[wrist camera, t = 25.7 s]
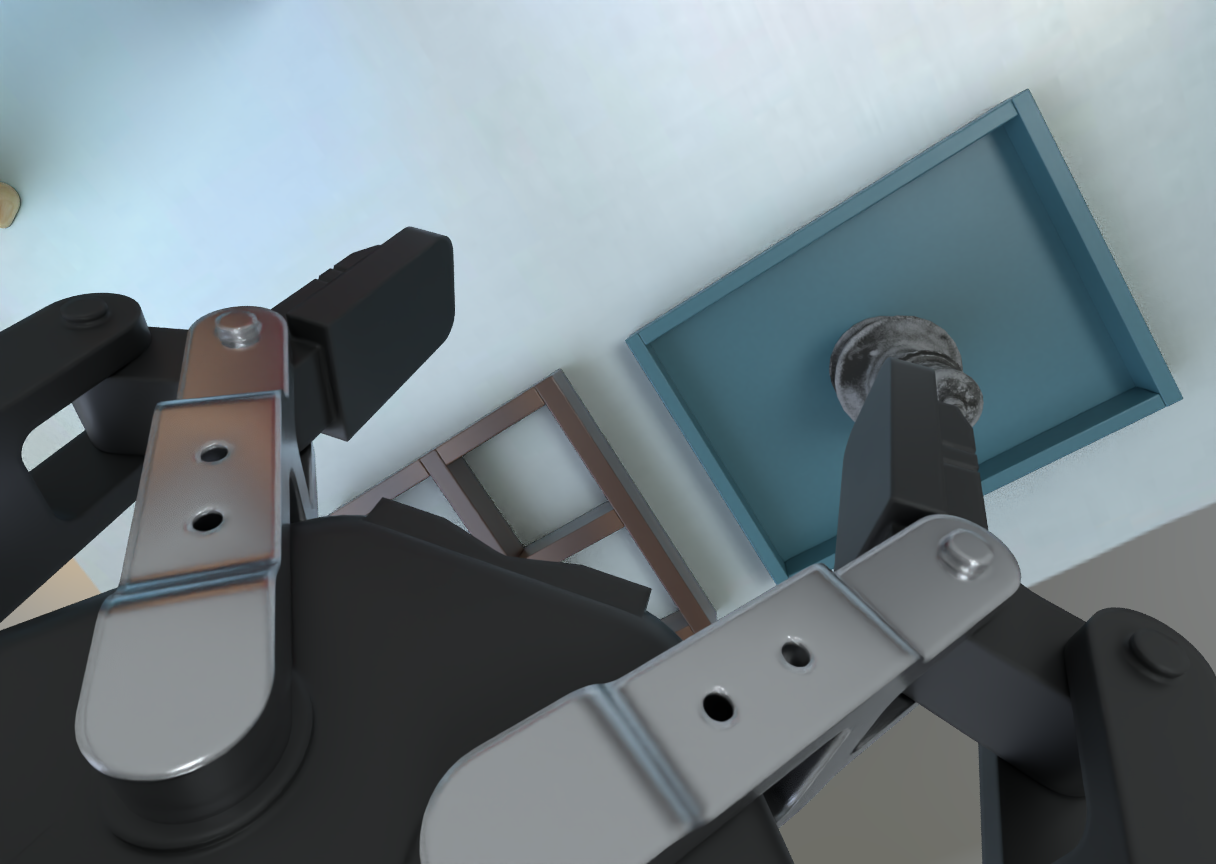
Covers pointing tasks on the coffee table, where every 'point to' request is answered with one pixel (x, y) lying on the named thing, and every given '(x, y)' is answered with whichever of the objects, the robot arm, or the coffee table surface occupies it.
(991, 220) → the tray
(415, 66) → the coffee table surface
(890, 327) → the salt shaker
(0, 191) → the grandmother figurine
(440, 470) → the spice rack
